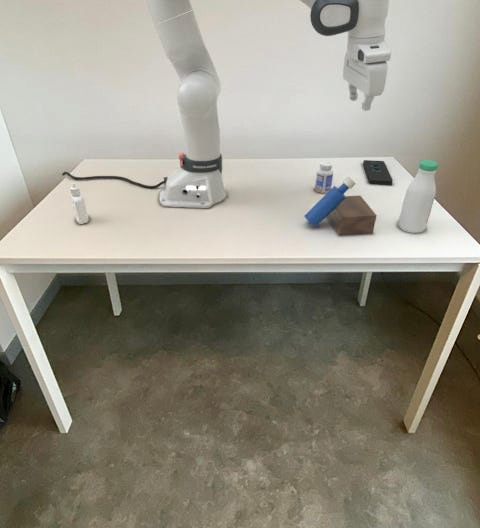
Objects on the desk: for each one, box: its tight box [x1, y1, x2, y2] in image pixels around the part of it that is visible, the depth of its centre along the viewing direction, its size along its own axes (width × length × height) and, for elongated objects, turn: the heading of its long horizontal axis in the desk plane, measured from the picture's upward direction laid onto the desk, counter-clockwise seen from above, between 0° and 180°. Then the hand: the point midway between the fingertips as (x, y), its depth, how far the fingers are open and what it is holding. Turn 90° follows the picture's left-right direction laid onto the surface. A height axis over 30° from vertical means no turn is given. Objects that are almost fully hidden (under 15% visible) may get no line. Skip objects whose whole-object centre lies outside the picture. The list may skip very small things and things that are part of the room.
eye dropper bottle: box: [69, 182, 89, 225], centre depth 120 cm, size 4×6×12 cm
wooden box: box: [327, 195, 377, 236], centre depth 120 cm, size 10×13×6 cm
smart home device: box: [362, 159, 394, 186], centre depth 153 cm, size 8×2×20 cm
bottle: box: [304, 176, 357, 228], centre depth 117 cm, size 14×5×15 cm, turn 96°
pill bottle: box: [314, 161, 334, 194], centre depth 139 cm, size 5×5×10 cm
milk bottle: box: [397, 159, 439, 234], centre depth 115 cm, size 8×8×20 cm
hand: (359, 104), depth 110 cm, fingers open, 8 cm apart
